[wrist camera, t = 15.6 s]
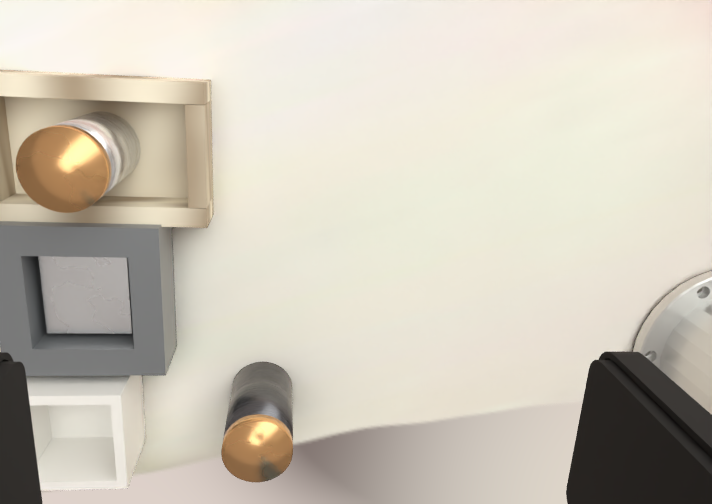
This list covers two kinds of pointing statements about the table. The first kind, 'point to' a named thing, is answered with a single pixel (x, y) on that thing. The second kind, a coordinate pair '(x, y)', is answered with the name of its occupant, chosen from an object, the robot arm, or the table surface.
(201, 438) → the table surface
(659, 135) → the table surface
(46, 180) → the cylinder
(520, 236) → the table surface
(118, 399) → the cup
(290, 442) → the black cell
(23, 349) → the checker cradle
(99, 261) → the plate
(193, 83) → the trough
